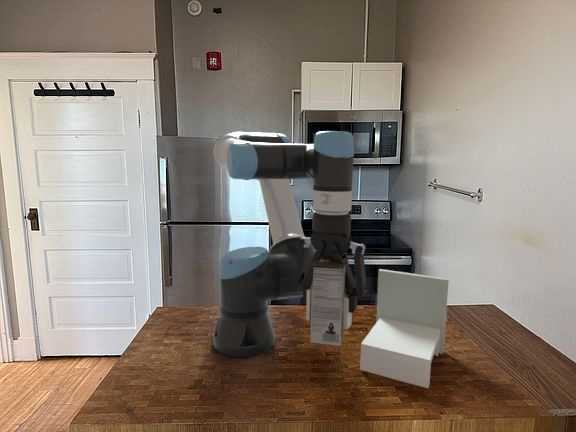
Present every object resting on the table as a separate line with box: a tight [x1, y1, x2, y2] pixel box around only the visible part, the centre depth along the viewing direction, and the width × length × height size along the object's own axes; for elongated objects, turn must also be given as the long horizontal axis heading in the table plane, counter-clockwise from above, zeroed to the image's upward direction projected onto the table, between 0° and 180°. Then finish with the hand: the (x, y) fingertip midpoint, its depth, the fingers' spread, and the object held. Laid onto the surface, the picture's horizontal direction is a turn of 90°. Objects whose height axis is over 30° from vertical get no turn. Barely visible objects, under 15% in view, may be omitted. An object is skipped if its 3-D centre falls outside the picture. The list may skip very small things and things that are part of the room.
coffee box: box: [309, 258, 347, 347], centre depth 76 cm, size 9×6×16 cm
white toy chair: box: [359, 268, 450, 389], centre depth 84 cm, size 16×18×18 cm
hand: (328, 322), depth 77 cm, fingers closed on coffee box, 7 cm apart
